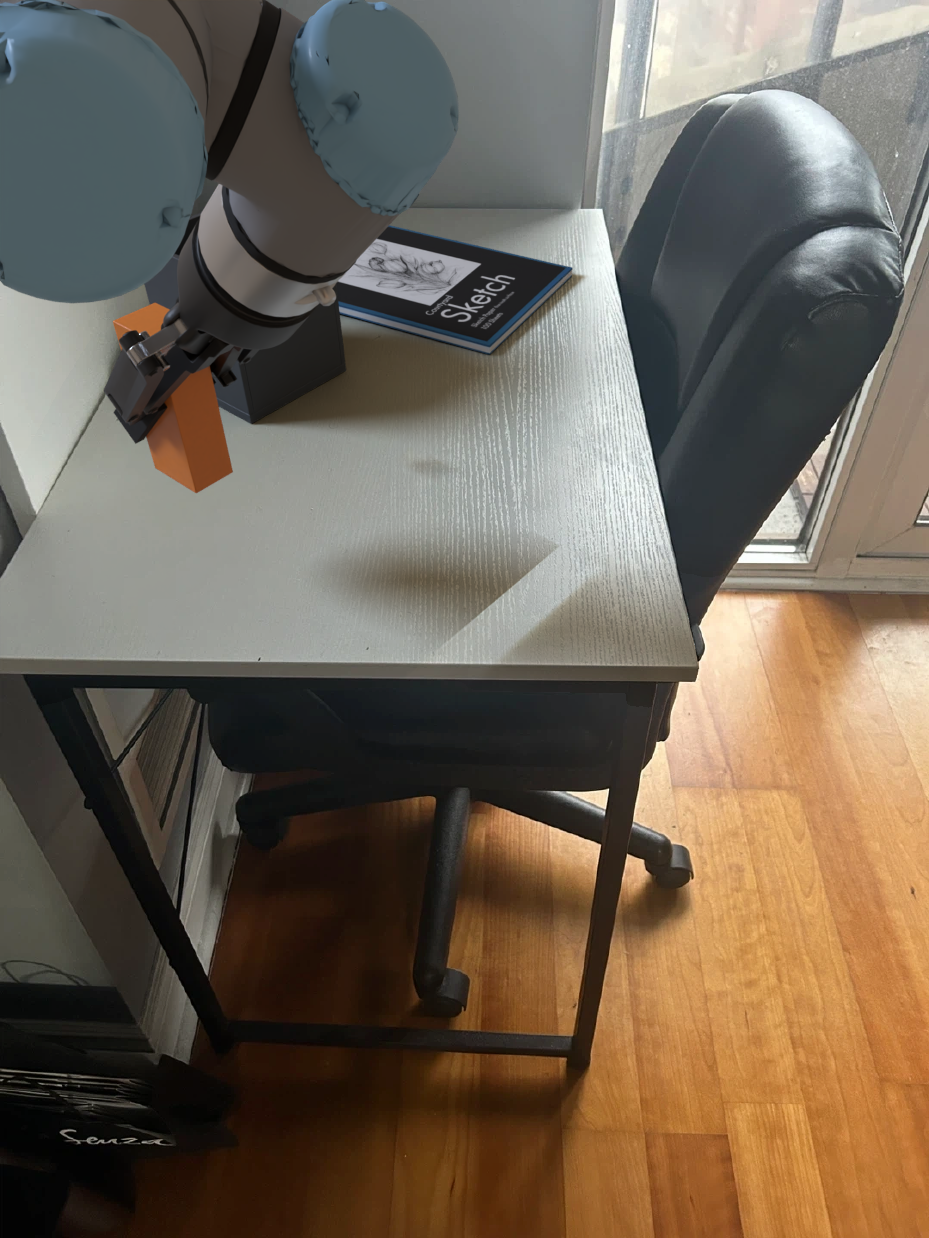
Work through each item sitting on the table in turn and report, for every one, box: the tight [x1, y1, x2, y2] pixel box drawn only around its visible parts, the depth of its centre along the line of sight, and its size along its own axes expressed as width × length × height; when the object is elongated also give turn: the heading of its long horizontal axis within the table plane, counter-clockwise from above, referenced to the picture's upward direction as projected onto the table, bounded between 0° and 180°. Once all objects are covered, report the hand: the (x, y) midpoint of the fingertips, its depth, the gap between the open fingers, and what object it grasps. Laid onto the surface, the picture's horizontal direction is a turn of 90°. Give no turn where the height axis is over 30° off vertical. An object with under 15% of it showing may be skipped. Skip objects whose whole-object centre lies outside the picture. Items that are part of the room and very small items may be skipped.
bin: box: [143, 211, 347, 424], centre depth 94 cm, size 13×13×15 cm
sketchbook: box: [336, 224, 574, 356], centre depth 113 cm, size 22×30×2 cm
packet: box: [112, 303, 234, 494], centre depth 67 cm, size 4×5×12 cm
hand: (152, 413), depth 71 cm, fingers closed on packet, 3 cm apart
